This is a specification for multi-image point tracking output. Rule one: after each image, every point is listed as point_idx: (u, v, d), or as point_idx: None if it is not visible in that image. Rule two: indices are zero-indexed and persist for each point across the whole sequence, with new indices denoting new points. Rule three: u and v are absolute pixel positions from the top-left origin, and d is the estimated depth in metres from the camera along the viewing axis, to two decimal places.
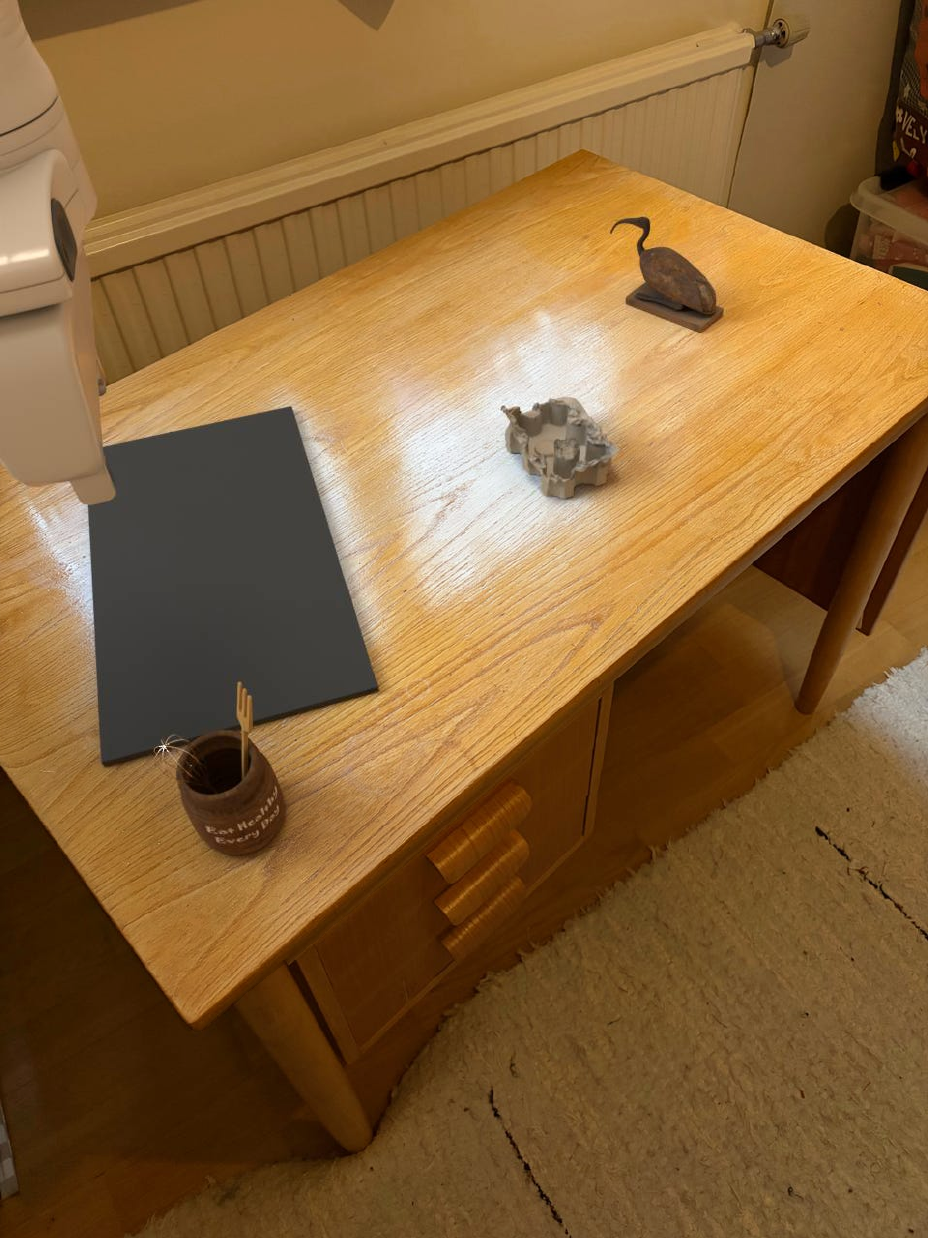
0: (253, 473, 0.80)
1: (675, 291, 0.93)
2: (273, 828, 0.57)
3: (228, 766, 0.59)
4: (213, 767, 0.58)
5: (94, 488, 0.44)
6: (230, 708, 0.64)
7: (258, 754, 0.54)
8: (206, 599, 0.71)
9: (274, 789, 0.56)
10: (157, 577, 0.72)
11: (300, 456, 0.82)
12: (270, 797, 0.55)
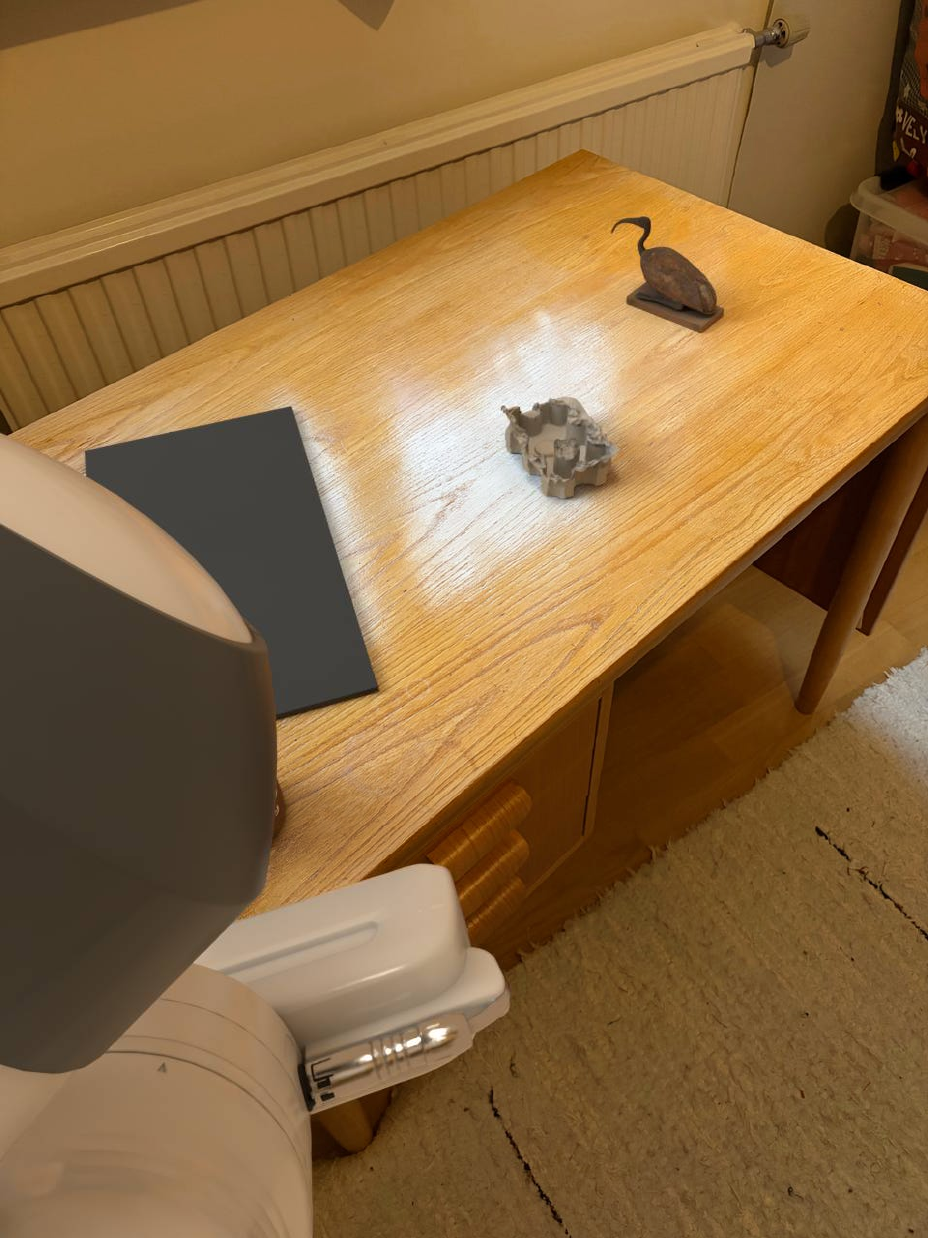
0: (253, 473, 0.80)
1: (675, 291, 0.93)
2: (273, 828, 0.57)
3: None
4: None
5: None
6: None
7: None
8: None
9: None
10: None
11: (300, 456, 0.82)
12: None
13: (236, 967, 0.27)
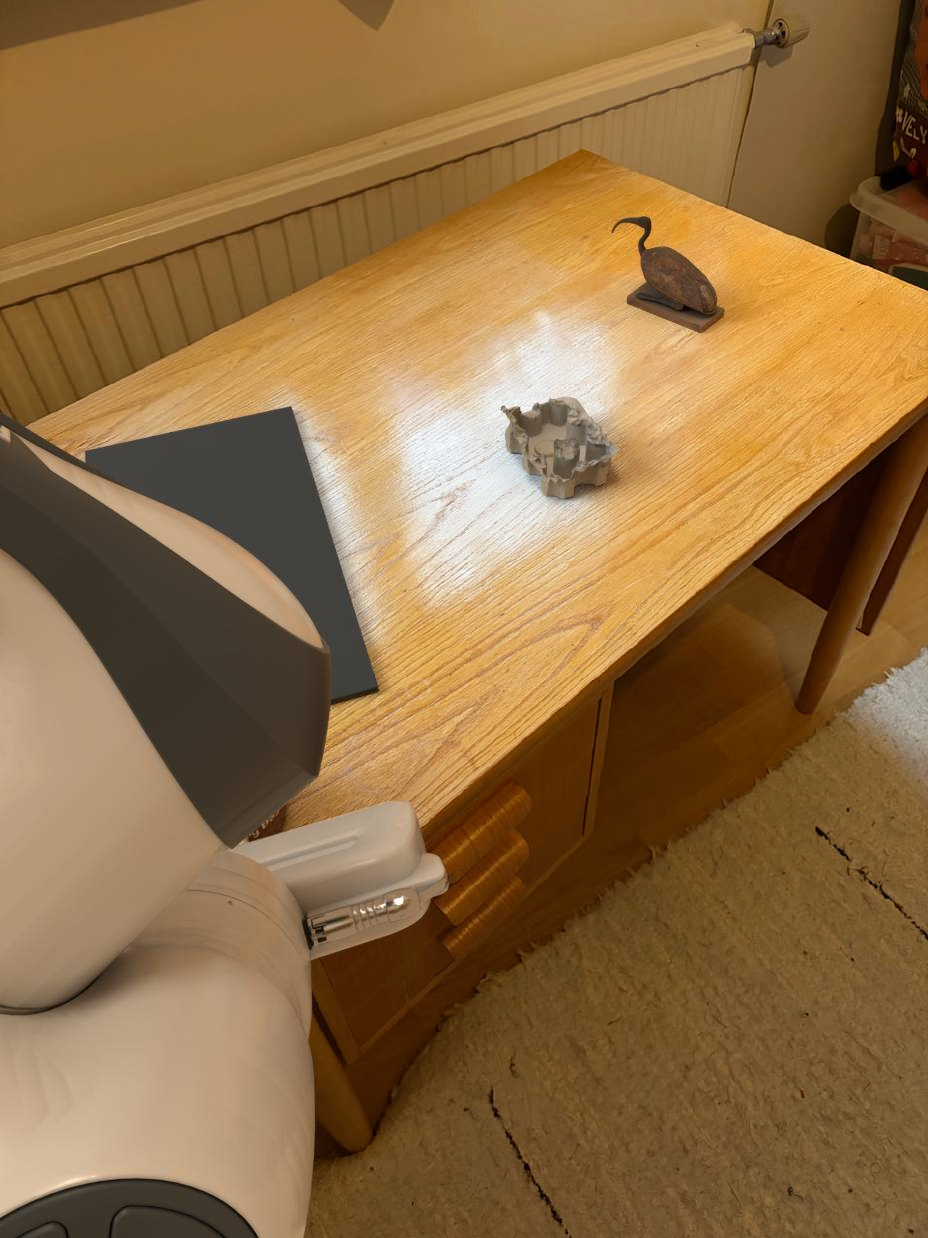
0: (253, 473, 0.80)
1: (675, 291, 0.93)
2: (273, 828, 0.57)
3: None
4: None
5: None
6: None
7: None
8: None
9: None
10: None
11: (300, 456, 0.82)
12: None
13: None
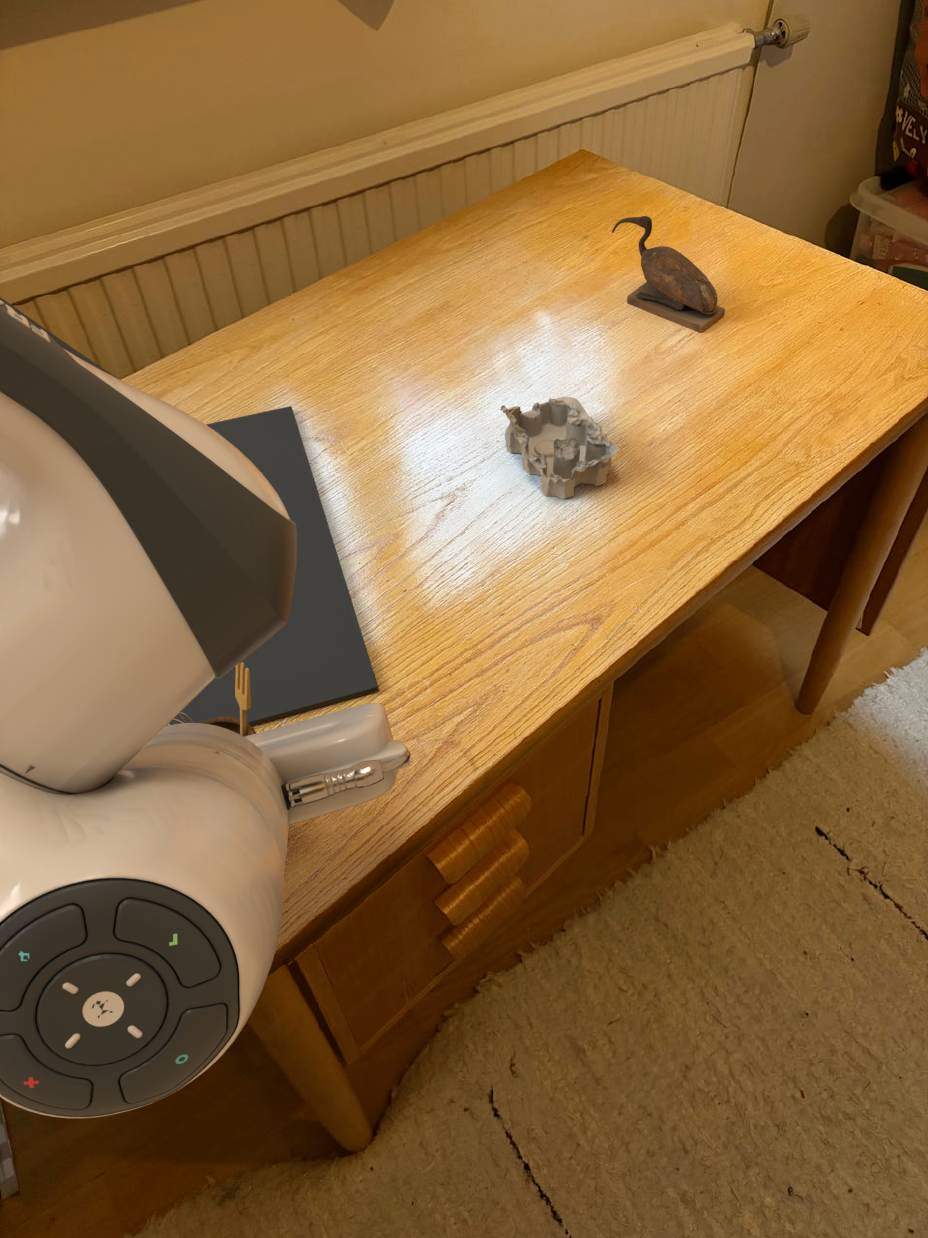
0: None
1: (675, 291, 0.93)
2: None
3: None
4: None
5: None
6: (230, 708, 0.64)
7: None
8: None
9: None
10: None
11: (300, 456, 0.82)
12: None
13: None
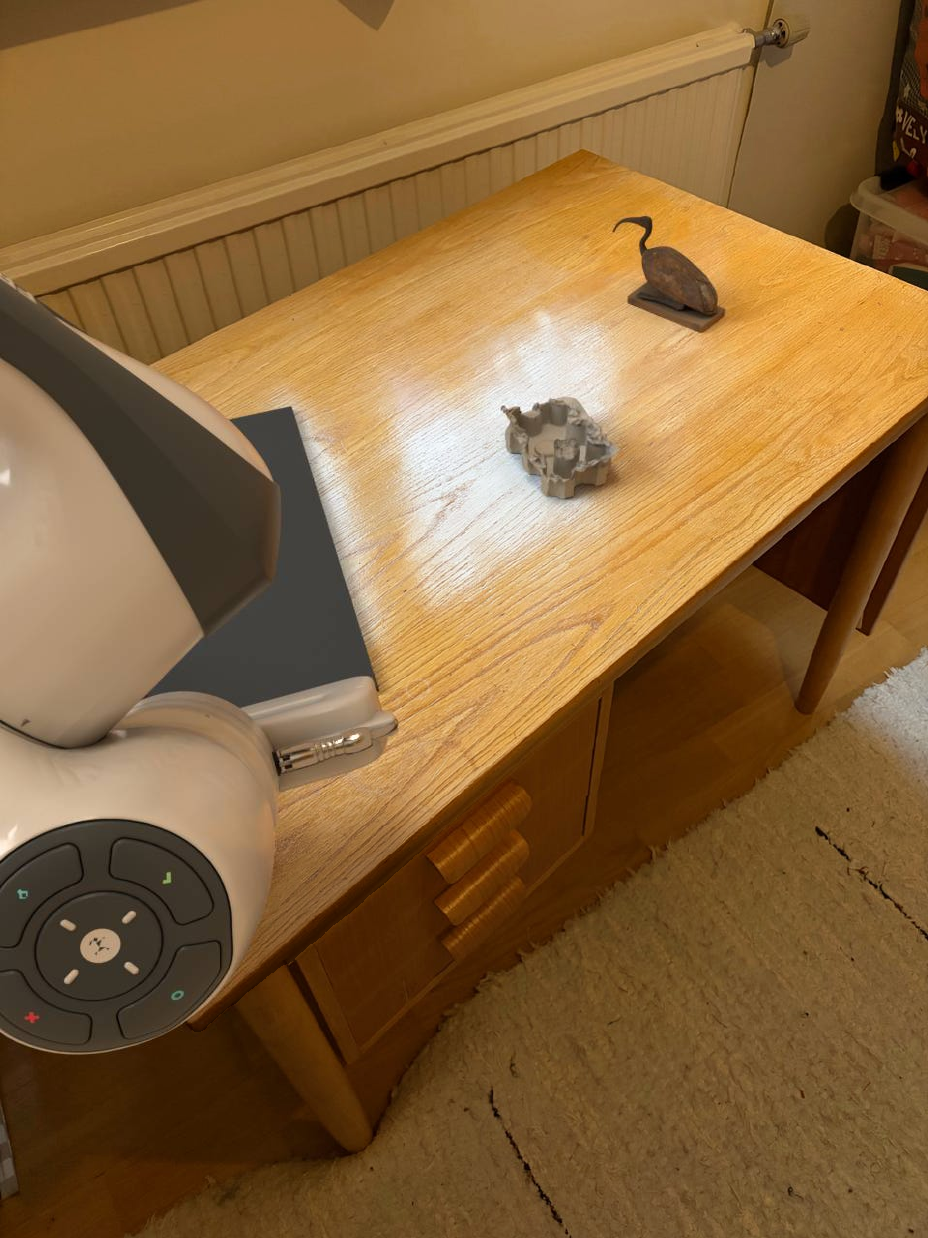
0: None
1: (676, 291, 0.93)
2: None
3: None
4: None
5: None
6: None
7: None
8: None
9: None
10: None
11: (300, 456, 0.82)
12: None
13: None
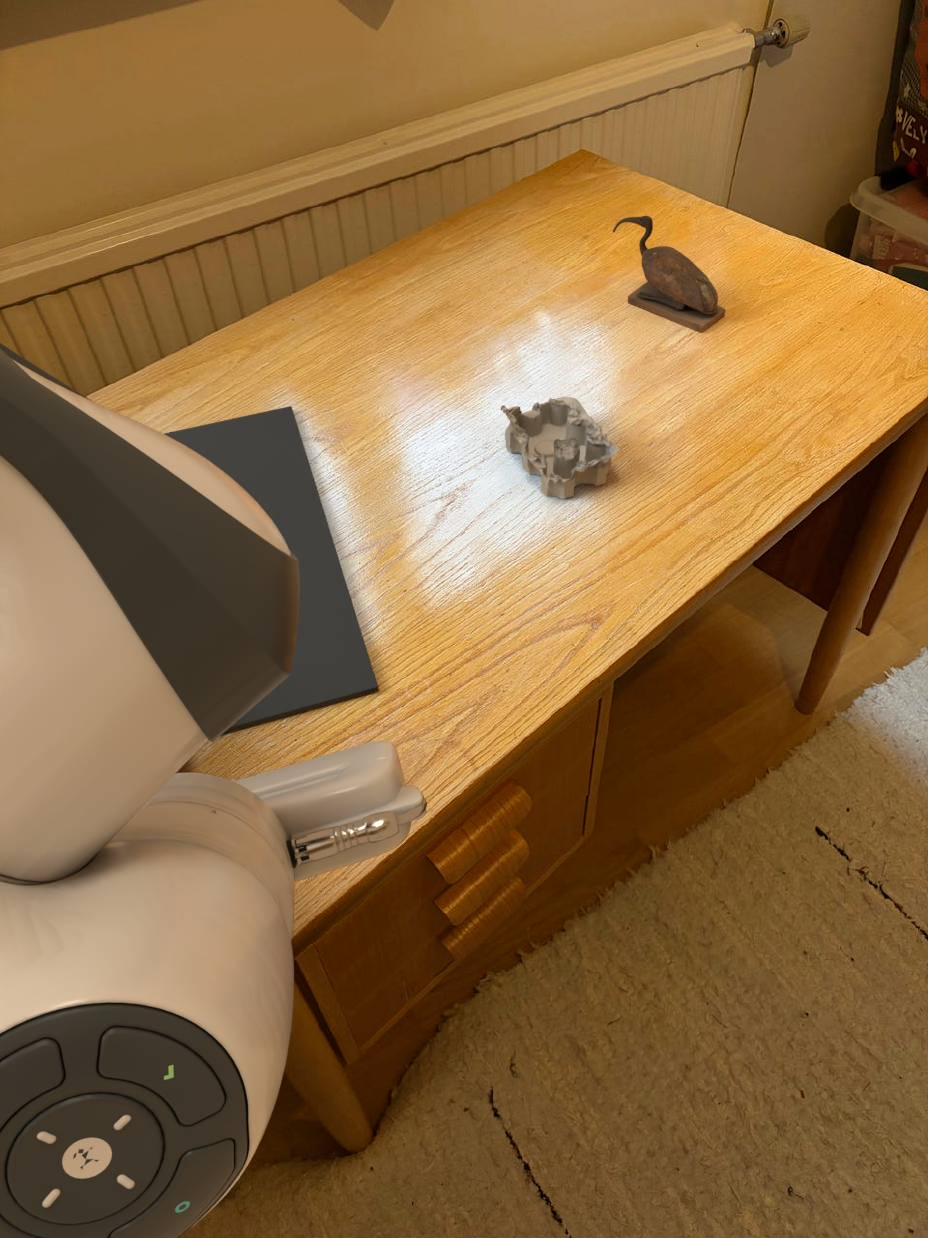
0: (253, 473, 0.80)
1: (676, 291, 0.93)
2: None
3: None
4: None
5: None
6: None
7: None
8: None
9: None
10: None
11: (300, 456, 0.82)
12: None
13: None
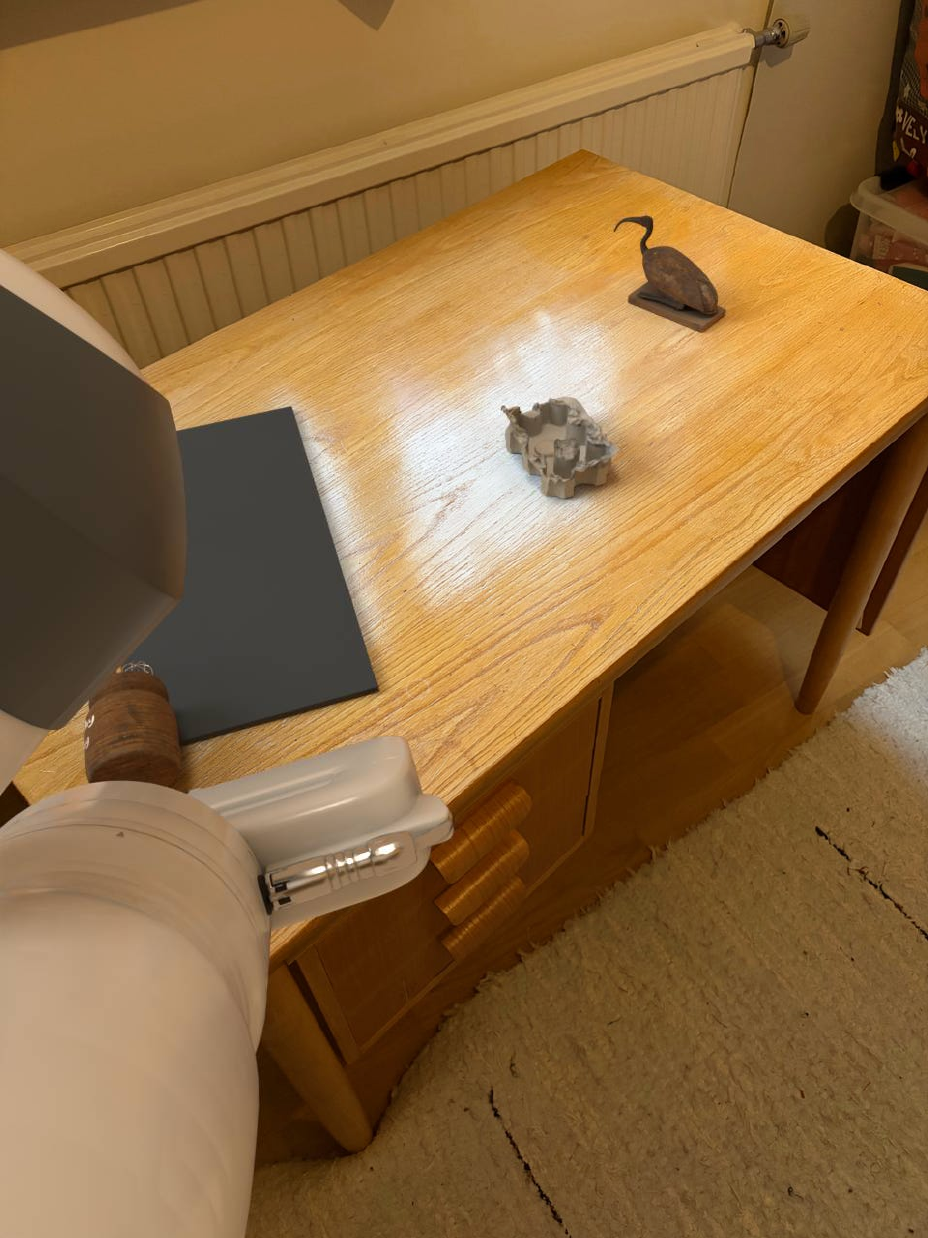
0: (253, 473, 0.80)
1: (676, 291, 0.93)
2: (85, 763, 0.57)
3: None
4: None
5: None
6: (230, 708, 0.64)
7: None
8: (206, 599, 0.71)
9: (90, 717, 0.57)
10: None
11: (300, 456, 0.82)
12: (86, 720, 0.58)
13: None
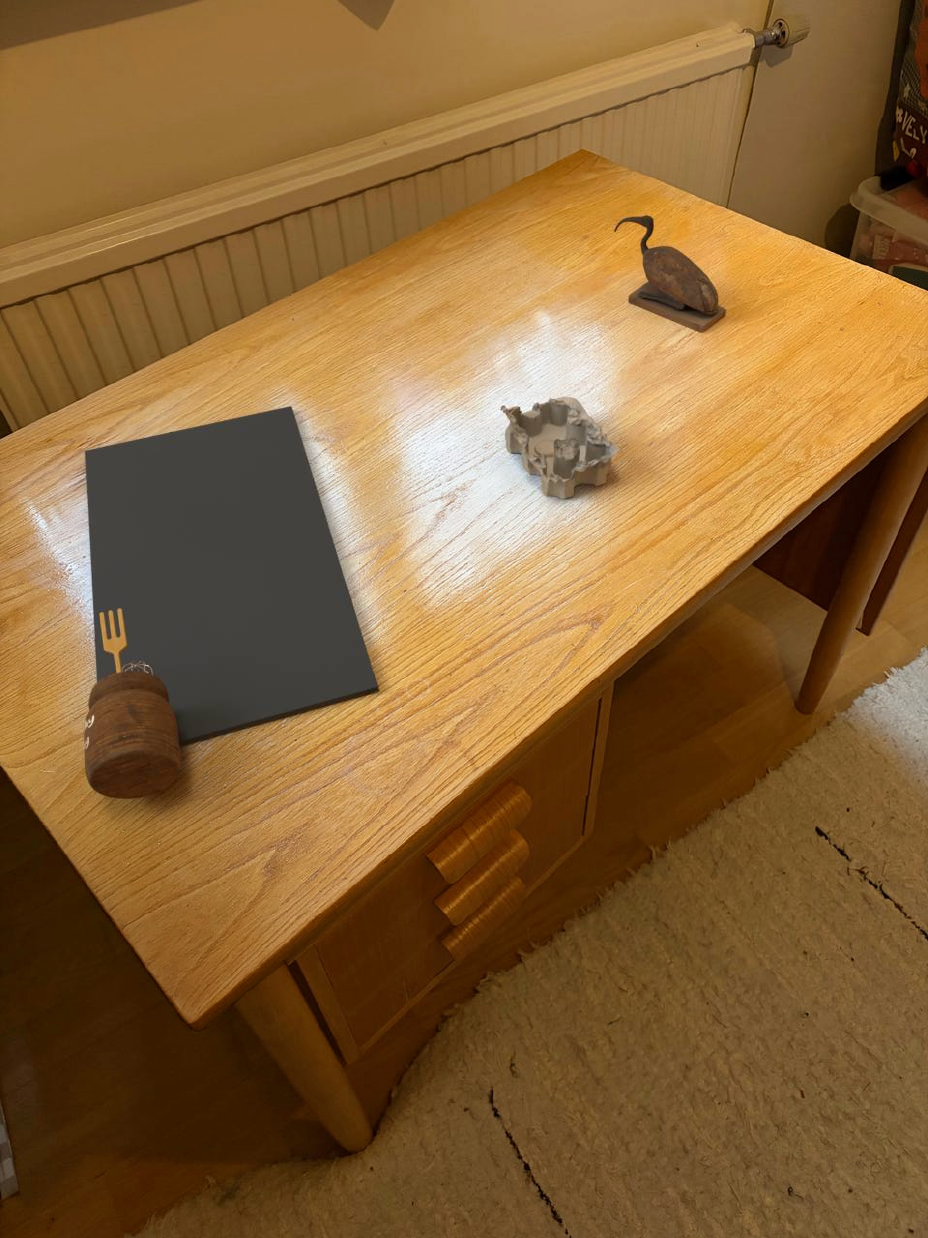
0: (253, 473, 0.80)
1: (676, 291, 0.93)
2: (85, 763, 0.57)
3: None
4: None
5: None
6: (230, 708, 0.64)
7: (104, 678, 0.59)
8: (206, 599, 0.71)
9: (90, 717, 0.57)
10: (157, 577, 0.72)
11: (300, 456, 0.82)
12: (86, 720, 0.58)
13: None
